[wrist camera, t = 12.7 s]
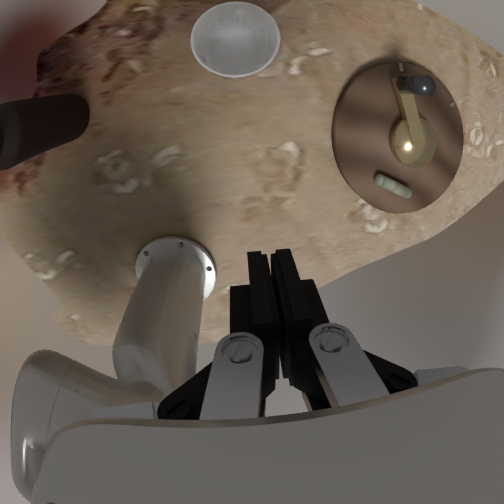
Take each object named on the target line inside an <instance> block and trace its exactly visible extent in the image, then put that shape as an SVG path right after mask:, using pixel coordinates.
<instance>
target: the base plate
mask: <svg viewBox="0 0 504 504" xmlns="http://www.w3.org/2000/svg"><path fill="white" fill-rule="evenodd" d="M402 75H428V76H430V77H432V78H433V80H434V81H435V83H436V92H435V94H434V95H432V96H424V95H414V94H413V95H414V99H415V103H416V107H417V111H418V115H419V118H422V119H424V120H426V121H427V122H428V123H429V124H430V125H431V126H432V128H433V130H434V132H435V135H436V150H435V153H434V156H433V157H432V159H431V160H430V161H429V163H427V164H426V165H425V166H423V167H420V168H411V167H409V166H407V165H405V164H403V163H401V162H399V161H398V160H397V159H396V158H395V156H394V155H393V153H392V151H391V148H390V133H391V130H392V127H393V126H394V124H395V123H396V122H397V121H398V120H399V119H400V118H402V117H403V116H402V112H401V109H400V105H399V101H398V98H397V94H396V91H395V88H394V85H393V81H392V78H396V77H399V76H402ZM331 137H332V147H333V152H334V157H335V160H336V163H337V166H338V168H339V170H340V172H341V174H342V176H343V178H344V179H345V181H346V182H347V184H348V185H349V186H350V187H351V188H352V190H353V191H354V192H355V193H357V194H358V195H359V196H360V197H361V198H362V199H363V200H364V201H366V202H367V203H368V204H370V205H371V206H373V207H375V208H377V209H379V210H382V211H385V212H390V213H410V212H414V211H417V210H420V209H422V208H425V207H426V206H428V205H430V204H431V203H433V202H434V201H435V200H437V199H438V198H439V197H440V196H441V195H442V194H443V193H444V192H445V191H446V189H447V188H448V187H449V185H450V184H451V182H452V180H453V179H454V177H455V175H456V173H457V170H458V167H459V164H460V161H461V157H462V151H463V126H462V121H461V117H460V113H459V110H458V108H457V105H456V103H455V101H454V99H453V97H452V95H451V94H450V92H449V91H448V89H447V88H446V87H445V86H444V84H443V83H442V82H441V81H440V80H439V79H438V78H436V77H435V76H434V75H433V74H431V73H430V72H428V71H427V70H425V69H423V68H421V67H419V66H416V65H413V64H409V63H402V62H395V63H384V64H380V65H375V66H373V67H370V68H368V69H366V70H364V71H363V72H361V73H359V74H358V75H357V76H356V77H355V78H354V79H352V81H351V82H350V83H349V84H348V85H347V86H346V88H345V89H344V91H343V93H342V94H341V96H340V98H339V100H338V102H337V105H336V108H335V111H334V115H333V121H332V134H331Z"/></svg>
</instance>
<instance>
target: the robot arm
mask: <svg viewBox="0 0 504 504" xmlns="http://www.w3.org/2000/svg"><path fill="white" fill-rule="evenodd" d="M180 242H182V243H180ZM247 256H248V268H249V281H250V285H239V286H230V334H229V335H227V336H225V337H224V338H222V339H221V340H220V341H219V342H218V345H217V347H216V350H215V354H214V359H213V361H212V362H211V363H210V364H209V365H207V366H206V367H205V368H204V369H202V370H201V371H200V372H198V373H197V374H196V363H197V351H198V341H199V331H200V322H201V313H202V305H203V301H204V300H205V299H206V298H207V297H208V296H209V295H210V294H211V292H212V291H213V289H214V287H215V283H216V267H215V264H214V262H213V259H212V258H211V256H210V255H209V253H208V252H207V251H206V250H205V249H204V248H203V247H202V246H200V245H199V244H197V243H196V242H194V241H192V240H190V239H187V238H183V237H179V236H164V237H160V238H157V239H155V240H152V241H150V242H149V243H148V244H147V245H145V246H144V248H143V249H142V250H141V251H140V253H139V255H138V257H137V260H136V264H135V273H136V278H137V281H138V282H137V285H136V287H135V289H134V292H133V294H132V296H131V299H130V301H129V304H128V306H127V309H126V311H125V314H124V316H123V319H122V321H121V324H120V326H119V329H118V332H117V334H116V337H115V340H114V344H113V351H112V357H113V365H114V369H115V372H116V375H117V378H118V379H115V378H112V377H110V376H107V375H105V374H103V373H101V372H99V371H96V370H94V369H92V368H90V367H88V366H86V365H84V364H81V363H79V362H77V361H75V360H73V359H71V358H69V357H67V356H64V355H62V354H60V353H58V352H55V351H52V350H45V349H44V350H38V351H36V352H34V353H32V354H31V355H30V356H29V357H28V358H27V359H26V360H25V362H24V363H23V365H22V367H21V369H20V372H19V374H18V377H17V380H16V384H15V389H14V394H13V401H12V413H11V468H12V476H13V480H14V483H15V486H16V488H17V489H18V491H19V492H20V493H21V494H22V495H23V496H24V497H25V498H26V499H27V500H28V501H30V502H31V504H504V369H501V368H480V369H473V370H468V369H467V368H464V367H459V366H456V367H447V368H436V369H424V370H416V371H415V373H411V372H410V371H408V370H406V369H405V368H403V367H400V366H398V365H396V364H394V363H391V362H389V361H387V360H384V359H382V358H380V357H378V356H376V355H373V354H371V353H369V352H367V351H365V350H363V349H362V348H361V346H360V345H359V343H358V342H357V340H356V339H355V337H354V335H353V334H352V333H351V332H350V330H349V329H348V328H346V327H344V326H343V325H339V324H337V323H330V322H329V320H328V317H327V314H326V312H325V309H324V306H323V304H322V301H321V298H320V296H319V293H318V291H317V288H316V285H315V283H314V281H313V279H307V280H300V277H299V274H298V271H297V268H296V265H295V262H294V259H293V256H292V253H291V250H290V249H279V250H276V253H274V254H271V273H270V268H269V263H268V258H267V254H261V251H254V252H247ZM209 266H210V267H209ZM279 355H280V361H281V367H282V373H283V378H289V382H290V386H294V387H295V388H297V389H298V390H300V391H302V396H303V399H304V402H305V404H306V407H307V409H308V412H303V413H296V414H288V415H279V416H270V417H265V409H266V397H268V396H269V394H271V393H272V392H273V391H274V390H275V379H279Z"/></svg>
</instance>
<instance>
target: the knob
mask: <svg viewBox="0 0 504 504" xmlns="http://www.w3.org/2000/svg"><path fill="white" fill-rule="evenodd" d="M392 81H393V85H394V88H395V91H396V94H397V98H398V101H399V105H400V109H401V112H402V116H403V117H402V118H400V119H399V120H398V121H397V122H396V123H395V124H394V126H393V127H392V130H391V133H390V148H391V151H392V153H393V155H394V156H395V158H396V159H397V160H398V161H399V162H401V163H403V164H405V165H407V166H409V167H411V168H420V167H423V166H425V165H426V164H427V163H429V161H430V160H431V159H432V157H433V156H434V153H435V150H436V135H435V132H434V130H433V128H432V126H431V125H430V124H429V123H428V122H427V121H426V120H424V119H422V118H419V115H418V111H417V107H416V103H415V99H414V95H424V96H432V95H434V94H435V92H436V83H435V81H434V80H433V78H432V77H430V76H428V75H402V76H399V77H396V78H392ZM413 94H414V95H413Z"/></svg>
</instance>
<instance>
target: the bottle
mask: <svg viewBox="0 0 504 504" xmlns="http://www.w3.org/2000/svg"><path fill="white" fill-rule="evenodd" d="M88 121H89V109H88V105H87V103H86V102H85V100H84V99H83V98H82V97H80V96H79V95H76V94H63V95H53V96H45V97H37V98H30V99H24V100H18V101H12V102H7V103H3V104H0V171H1V170H6V169H9V168H11V167H13V166H15V165H17V164H19V163H21V162H23V161H25V160H28V159H30V158H32V157H34V156H36V155H38V154H41V153H43V152H45V151H48V150H50V149H52V148H55V147H57V146H60V145H62V144H65V143H67V142H70V141H73V140H75V139H76V138H78V137H79V136H80V135H81V134H82V133H83V132H84V131H85V129H86V127H87V125H88Z"/></svg>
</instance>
